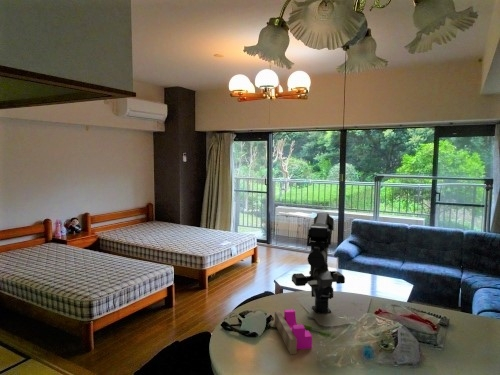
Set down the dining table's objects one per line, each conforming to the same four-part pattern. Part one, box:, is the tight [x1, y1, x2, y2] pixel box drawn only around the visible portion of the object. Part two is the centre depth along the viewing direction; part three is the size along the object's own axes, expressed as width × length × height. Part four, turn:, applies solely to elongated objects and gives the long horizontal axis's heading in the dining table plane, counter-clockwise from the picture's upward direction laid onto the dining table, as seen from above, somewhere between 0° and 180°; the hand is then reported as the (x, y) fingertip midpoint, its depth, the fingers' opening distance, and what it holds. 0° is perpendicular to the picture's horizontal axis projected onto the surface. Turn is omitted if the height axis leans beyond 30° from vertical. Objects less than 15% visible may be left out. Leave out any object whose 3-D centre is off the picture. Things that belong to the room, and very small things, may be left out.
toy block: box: [283, 308, 313, 350], centre depth 123 cm, size 15×6×8 cm, turn 7°
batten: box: [274, 310, 298, 355], centre depth 123 cm, size 22×2×5 cm, turn 10°
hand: (317, 301), depth 125 cm, fingers closed
